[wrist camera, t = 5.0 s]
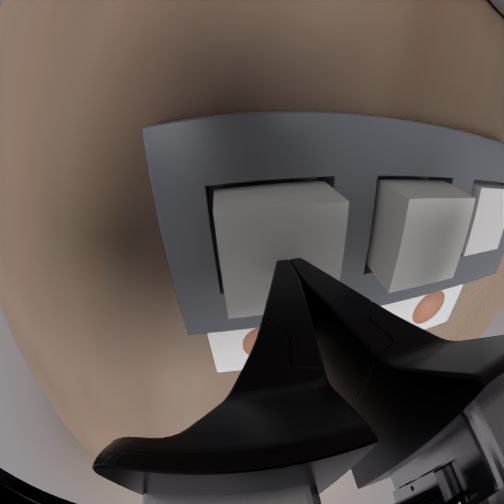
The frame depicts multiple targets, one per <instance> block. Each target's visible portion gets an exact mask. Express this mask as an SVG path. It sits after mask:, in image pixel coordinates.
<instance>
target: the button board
mask: <svg viewBox="0 0 504 504" xmlns="http://www.w3.org/2000/svg"><path fill="white" fill-rule="evenodd" d="M142 134H143V141H144V147H145V154H146V160H147V166H148V172H149V178H150V183H151V189H152V194H153V199H154V204H155V209H156V214H157V219H158V223H159V228H160V232H161V237H162V241H163V245H164V249H165V254H166V258H167V262H168V265H169V269H170V273H171V277H172V281H173V284H174V288H175V292H176V295H177V299H178V302H179V306H180V309H181V312H182V316H183V319H184V322H185V326H186V329H187V332H188V335H191V334H203V333H214V332H224V331H233V330H242V329H250V328H258V327H260V324H261V321H262V317H263V315H258V316H250V317H242V318H233V319H228V313H227V307H226V301H225V294H224V288H223V281H222V274H221V267H220V261H219V253H218V246H217V239H216V232H215V224H214V216H213V198H214V190H215V189H224V188H233V187H244V186H254V185H266V184H279V183H294V182H311V181H325V182H326V183H327V184H329V185H330V186H331V187H332V188H333V189H335V190H336V191H337V192H338V193H340V194H341V195H342V196H343V197H344V198H346V199H347V200H348V201H349V209H348V220H347V229H346V239H345V247H344V255H343V262H342V270H341V277H340V282H342V283H344V284H345V285H347V286H349V287H350V288H352V289H354V290H355V291H357V292H358V293H360V294H362V295H363V296H365V297H367V298H368V299H370V300H371V301H372V302H375V303H376V304H378V305H380V306H382V305H386V304H391V303H395V302H399V301H403V300H407V299H411V298H415V297H419V296H423V295H426V294H430V293H434V292H437V291H441V290H444V289H448V288H451V287H455V286H458V285H461V284H464V283H468V282H471V281H474V280H477V279H480V278H483V277H486V276H489V275H492V274H495V273H496V271H497V269H498V266H499V264H500V261H501V258H502V256H503V253H504V229H503V233H502V236H501V239H500V242H499V245H498V248H497V249H494V250H490V251H485V252H481V253H477V254H472V255H468V256H463V255H462V254H461V255H460V258H459V261H458V264H457V267H456V270H455V273H454V276H453V278H450V279H446V280H442V281H439V282H435V283H431V284H427V285H422V286H418V287H414V288H410V289H405V290H401V291H397V292H392V293H388V292H387V291H386V289H385V288H384V287H383V285H382V284H381V283H380V282H379V280H378V279H377V278H376V276H375V275H374V274H373V272H372V271H371V270H370V269H369V267H368V266H367V265H366V261H367V256H368V250H369V244H370V238H371V232H372V225H373V218H374V210H375V202H376V193H377V183H378V180H436V181H445V182H447V183H449V184H451V185H453V186H455V187H457V188H458V189H460V190H462V191H464V192H466V193H467V194H469V195H472V190H473V184H474V180H483V181H493V182H499V183H501V184H503V185H504V143H503V142H500V141H497V140H494V139H491V138H488V137H485V136H481V135H478V134H474V133H471V132H467V131H463V130H459V129H455V128H451V127H447V126H442V125H437V124H432V123H427V122H422V121H416V120H411V119H404V118H398V117H390V116H382V115H374V114H364V113H352V112H336V111H308V110H285V111H256V112H240V113H228V114H217V115H208V116H200V117H193V118H185V119H179V120H173V121H167V122H161V123H157V124H154V125H151V126H148V127H145V128H142ZM372 302H371V303H372Z"/></svg>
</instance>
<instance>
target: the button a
mask: <svg viewBox="0 0 504 504" xmlns="http://www.w3.org/2000/svg"><path fill="white" fill-rule="evenodd" d="M348 209H349V201H348V200H347V199H346V198H344V197H343V196H342V195H341V194H340V193H338V192H337V191H336V190H335V189H333V188H332V187H331V186H330V185H329V184H327V183H326V182H325V181H311V182H294V183H279V184H266V185H254V186H244V187H233V188H224V189H215V190H214V198H213V216H214V224H215V232H216V239H217V246H218V253H219V261H220V267H221V274H222V281H223V288H224V294H225V301H226V307H227V313H228V319H233V318H242V317H250V316H258V315H263V313H264V309H265V305H266V301H267V297H268V294H269V290H270V286H271V282H272V278H273V274H274V270H275V266H276V262H277V261H278V260H286V259H288V260H290V259H295V258H302V259H304V260H306V261H307V262H309V263H311V264H312V265H314V266H316V267H317V268H319V269H321V270H322V271H324V272H326V273H327V274H329V275H331V276H332V277H334V278H336V279H337V280H339V281H340V277H341V270H342V262H343V255H344V247H345V239H346V229H347V220H348Z"/></svg>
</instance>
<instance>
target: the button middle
mask: <svg viewBox="0 0 504 504" xmlns="http://www.w3.org/2000/svg"><path fill="white" fill-rule="evenodd" d="M474 203H475V198H474V197H473V196H471V195H469V194H467V193H466V192H464V191H462V190H460V189H458V188H457V187H455V186H453V185H451V184H449V183H447V182H445V181H436V180H378V183H377V193H376V202H375V210H374V218H373V225H372V232H371V238H370V244H369V250H368V256H367V261H366V265H367V266H368V267H369V269H370V270H371V271H372V272H373V274H374V275H375V276H376V278H377V279H378V280H379V282H380V283H381V284H382V285H383V287H384V288H385V289H386V291H387V292H388V293H392V292H397V291H401V290H405V289H410V288H414V287H418V286H422V285H427V284H431V283H435V282H439V281H442V280H446V279H450V278H453V276H454V273H455V270H456V267H457V264H458V261H459V258H460V255H461V252H462V249H463V246H464V242H465V239H466V235H467V232H468V228H469V224H470V220H471V216H472V212H473V208H474Z"/></svg>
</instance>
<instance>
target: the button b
mask: <svg viewBox="0 0 504 504" xmlns="http://www.w3.org/2000/svg"><path fill="white" fill-rule="evenodd" d="M471 196H473V197H474V198H475V203H474V208H473V212H472V216H471V220H470V224H469V228H468V232H467V235H466V239H465V242H464V246H463V249H462V252H461V254H462V255H463V256H468V255H472V254H477V253H481V252H485V251H490V250H494V249H497V248H498V245H499V242H500V239H501V236H502V233H503V229H504V185H503V184H501V183H499V182H493V181H483V180H474V184H473V190H472V195H471Z"/></svg>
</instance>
